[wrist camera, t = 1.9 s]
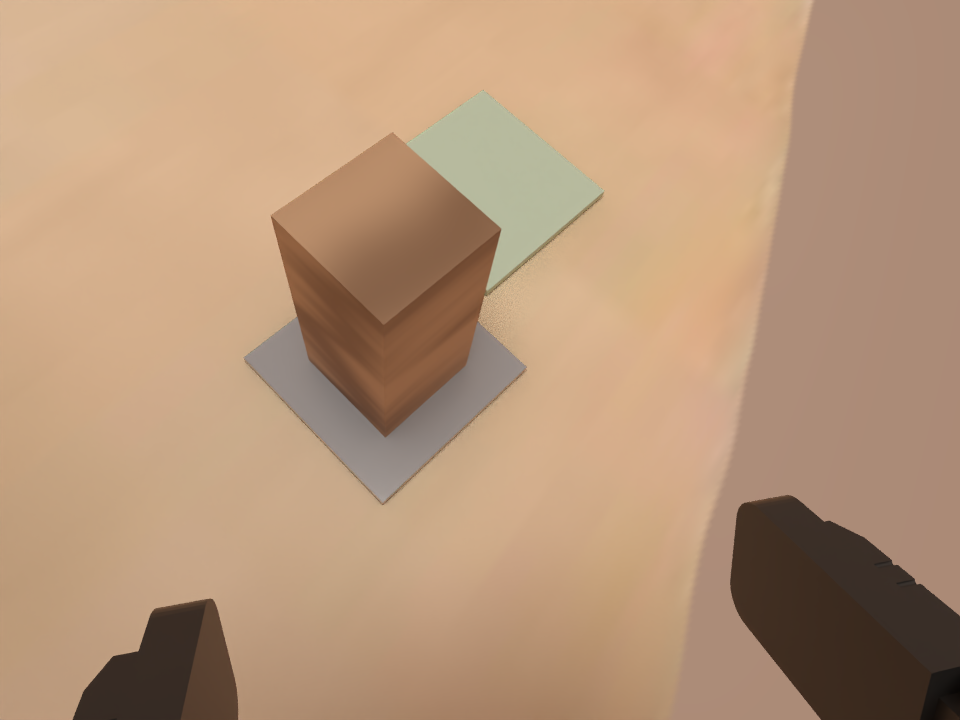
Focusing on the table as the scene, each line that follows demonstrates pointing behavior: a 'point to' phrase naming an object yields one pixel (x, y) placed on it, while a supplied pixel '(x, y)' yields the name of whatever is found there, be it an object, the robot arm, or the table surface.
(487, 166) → the sage mat
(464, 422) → the tile
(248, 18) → the table surface
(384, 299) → the walnut block
